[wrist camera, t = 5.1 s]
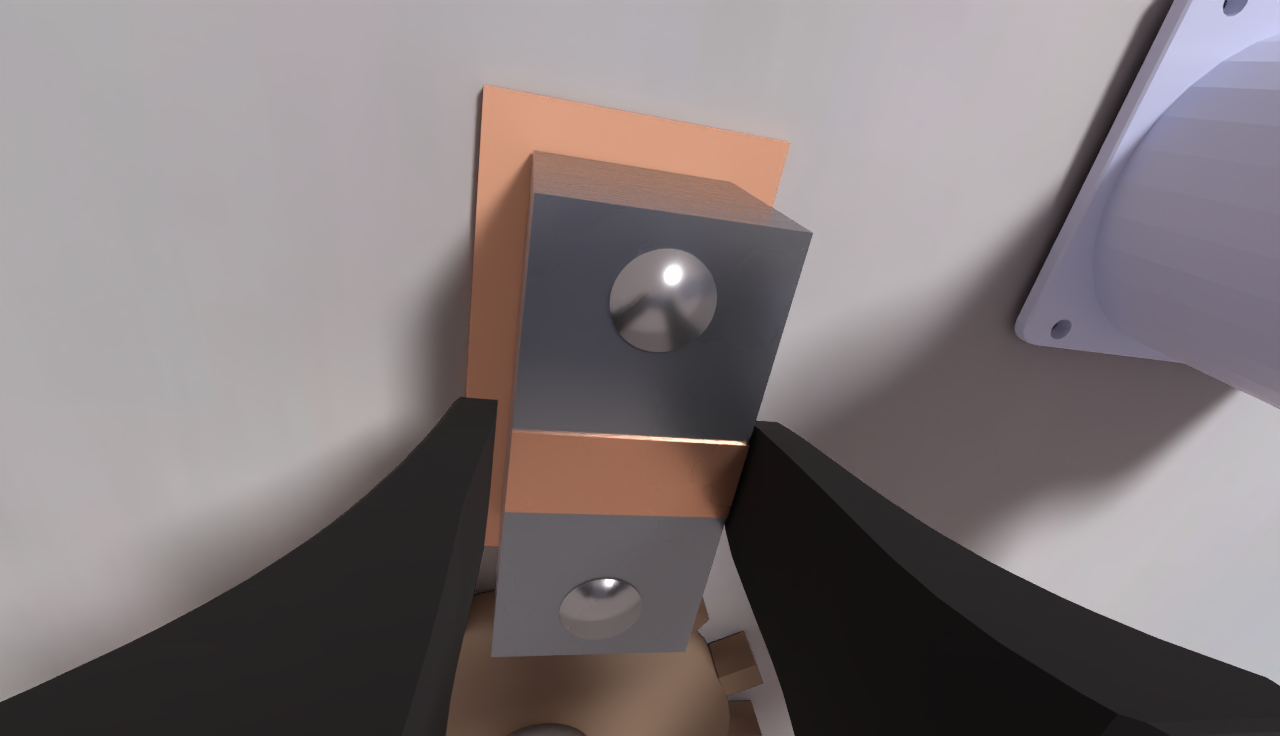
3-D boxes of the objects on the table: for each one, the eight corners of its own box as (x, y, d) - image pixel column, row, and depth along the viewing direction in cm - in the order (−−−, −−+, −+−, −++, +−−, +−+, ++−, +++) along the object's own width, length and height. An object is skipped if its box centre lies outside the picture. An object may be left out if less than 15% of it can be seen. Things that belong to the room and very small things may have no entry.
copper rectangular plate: (786, 141, 12) (790, 142, 12) (676, 547, 17) (677, 552, 17) (484, 84, 11) (483, 85, 11) (457, 540, 16) (457, 545, 15)
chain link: (730, 181, 12) (814, 233, 9) (651, 520, 16) (686, 654, 12) (533, 149, 11) (534, 193, 8) (499, 516, 15) (490, 659, 12)
